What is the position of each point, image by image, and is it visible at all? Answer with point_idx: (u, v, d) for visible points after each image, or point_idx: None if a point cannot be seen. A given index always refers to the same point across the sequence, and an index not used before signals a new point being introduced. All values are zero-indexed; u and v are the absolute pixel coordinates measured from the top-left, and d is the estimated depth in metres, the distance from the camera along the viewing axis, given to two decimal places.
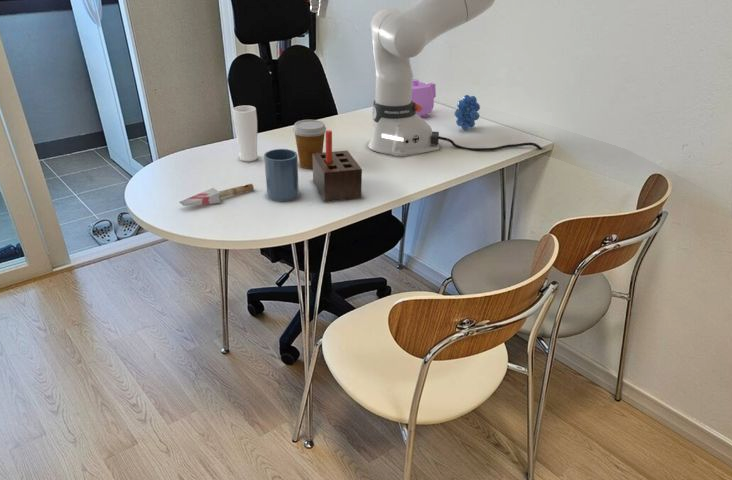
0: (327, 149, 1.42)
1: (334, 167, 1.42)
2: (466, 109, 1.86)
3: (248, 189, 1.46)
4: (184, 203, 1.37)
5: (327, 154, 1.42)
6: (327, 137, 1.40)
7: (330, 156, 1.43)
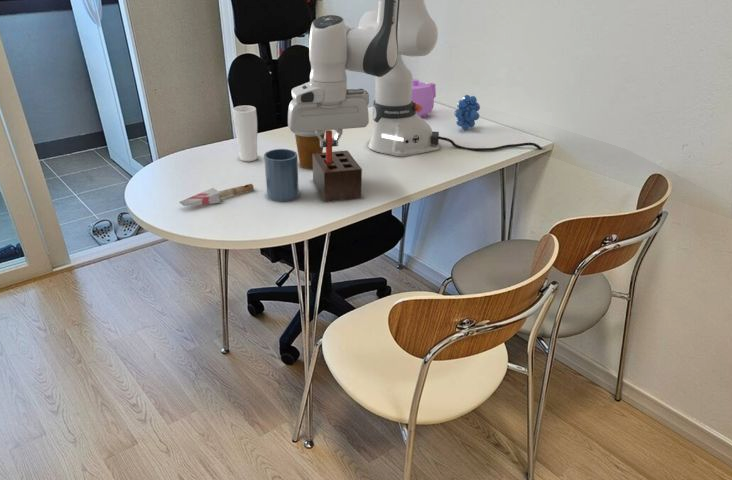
0: (327, 149, 1.42)
1: (334, 167, 1.42)
2: (466, 109, 1.86)
3: (248, 189, 1.46)
4: (184, 203, 1.37)
5: (327, 154, 1.42)
6: (327, 137, 1.40)
7: (330, 156, 1.43)
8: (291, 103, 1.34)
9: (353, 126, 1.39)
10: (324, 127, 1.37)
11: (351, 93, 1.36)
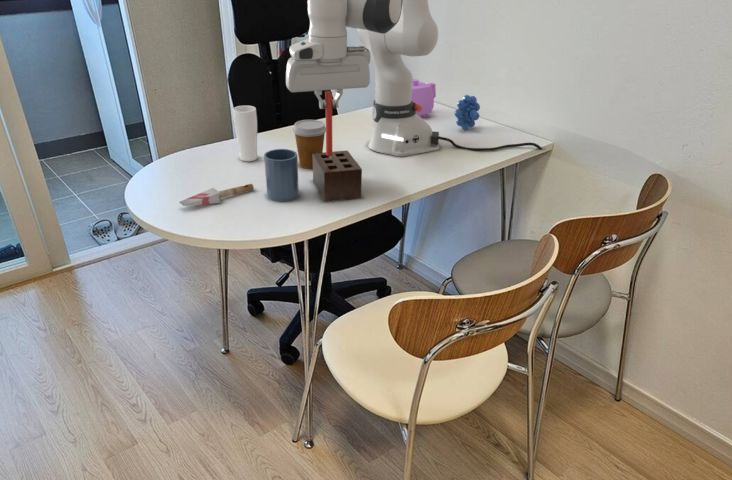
0: (327, 111, 1.36)
1: (334, 167, 1.42)
2: (466, 109, 1.86)
3: (248, 189, 1.46)
4: (184, 203, 1.37)
5: (327, 116, 1.37)
6: (327, 98, 1.34)
7: (330, 118, 1.37)
8: (289, 61, 1.29)
9: (354, 86, 1.33)
10: (324, 86, 1.32)
11: (352, 51, 1.30)
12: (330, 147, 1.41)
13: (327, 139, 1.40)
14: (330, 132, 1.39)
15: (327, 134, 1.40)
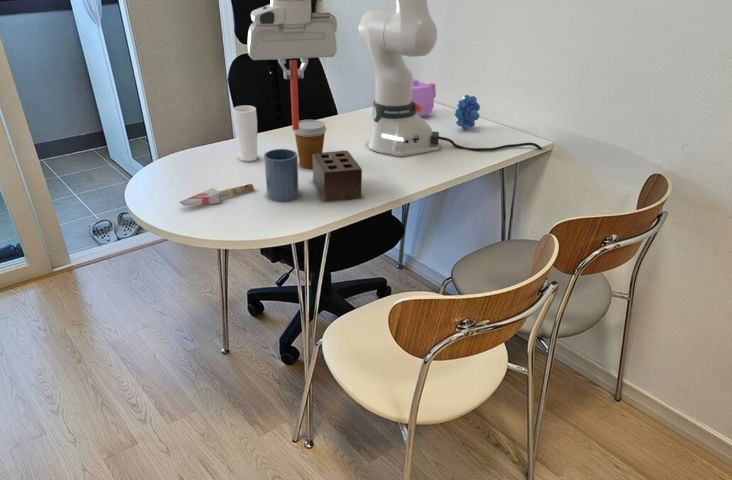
0: (292, 81, 1.30)
1: (334, 167, 1.42)
2: (466, 109, 1.86)
3: (248, 189, 1.46)
4: (184, 203, 1.37)
5: (292, 87, 1.31)
6: (291, 67, 1.28)
7: (295, 89, 1.31)
8: (250, 26, 1.23)
9: (319, 55, 1.27)
10: (287, 55, 1.26)
11: (317, 17, 1.24)
12: (296, 120, 1.35)
13: (293, 112, 1.34)
14: (296, 104, 1.33)
15: (293, 106, 1.33)
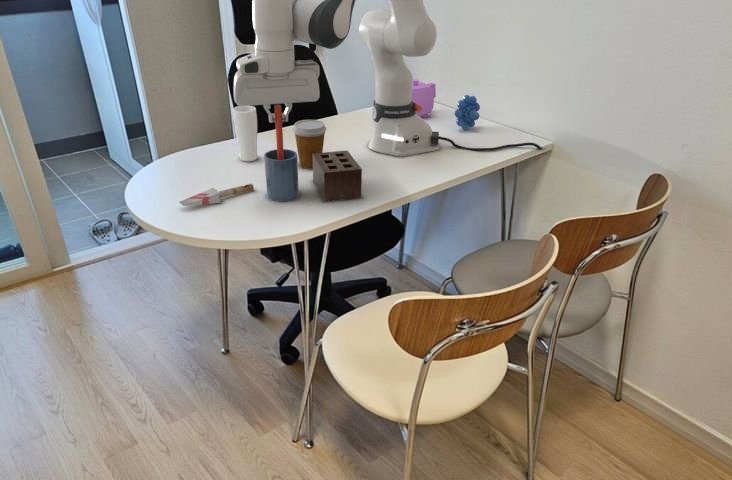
0: (277, 124, 1.35)
1: (334, 167, 1.42)
2: (466, 109, 1.86)
3: (248, 189, 1.46)
4: (184, 203, 1.37)
5: (277, 130, 1.35)
6: (276, 111, 1.33)
7: (280, 132, 1.36)
8: (236, 74, 1.27)
9: (303, 100, 1.32)
10: (272, 100, 1.30)
11: (300, 65, 1.29)
12: None
13: (278, 153, 1.39)
14: (281, 146, 1.38)
15: (278, 148, 1.38)
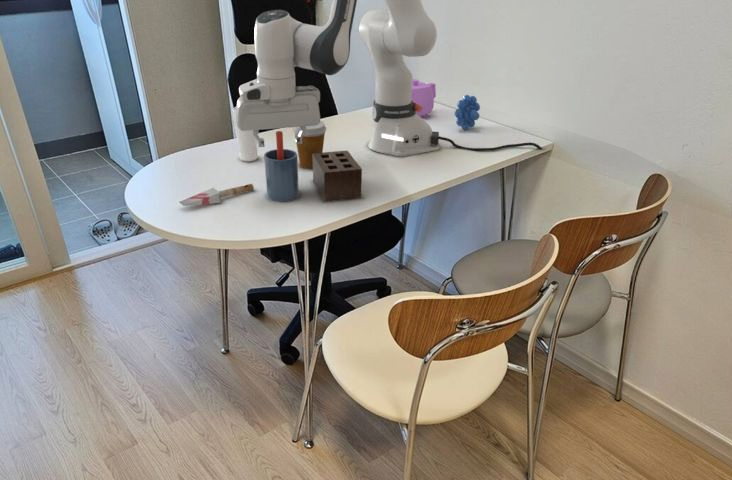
0: (278, 150, 1.38)
1: (334, 167, 1.42)
2: (466, 109, 1.86)
3: (248, 189, 1.46)
4: (184, 203, 1.37)
5: (278, 155, 1.39)
6: (277, 138, 1.37)
7: (282, 157, 1.39)
8: (238, 100, 1.31)
9: (304, 124, 1.35)
10: (273, 125, 1.33)
11: (301, 90, 1.32)
12: None
13: None
14: None
15: None
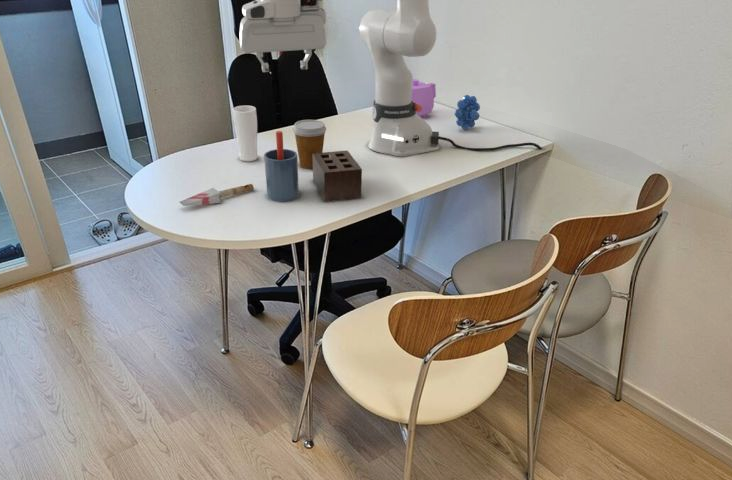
0: (278, 150, 1.38)
1: (334, 167, 1.42)
2: (466, 109, 1.86)
3: (248, 189, 1.46)
4: (184, 203, 1.37)
5: (278, 155, 1.39)
6: (277, 138, 1.37)
7: (282, 157, 1.39)
8: (242, 20, 1.27)
9: (309, 47, 1.31)
10: (278, 47, 1.29)
11: (306, 10, 1.28)
12: None
13: None
14: None
15: None
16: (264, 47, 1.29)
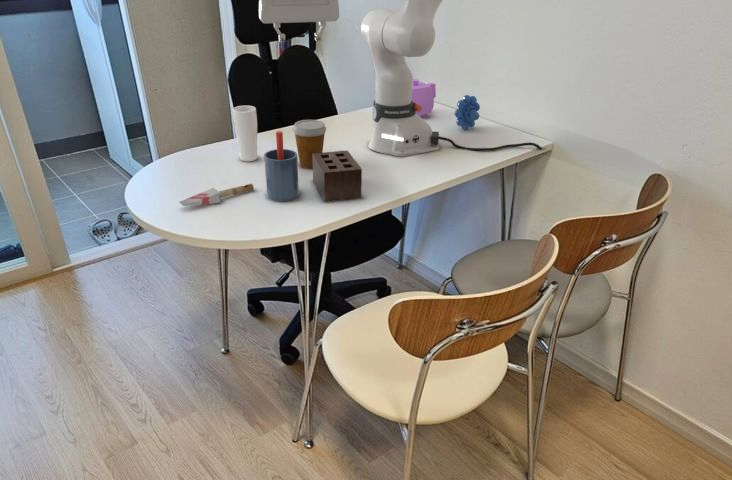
0: (278, 150, 1.38)
1: (334, 167, 1.42)
2: (466, 109, 1.86)
3: (248, 189, 1.46)
4: (184, 203, 1.37)
5: (278, 155, 1.39)
6: (277, 138, 1.37)
7: (282, 157, 1.39)
8: None
9: (324, 19, 1.40)
10: (295, 18, 1.39)
11: None
12: None
13: None
14: None
15: None
16: (281, 18, 1.38)
